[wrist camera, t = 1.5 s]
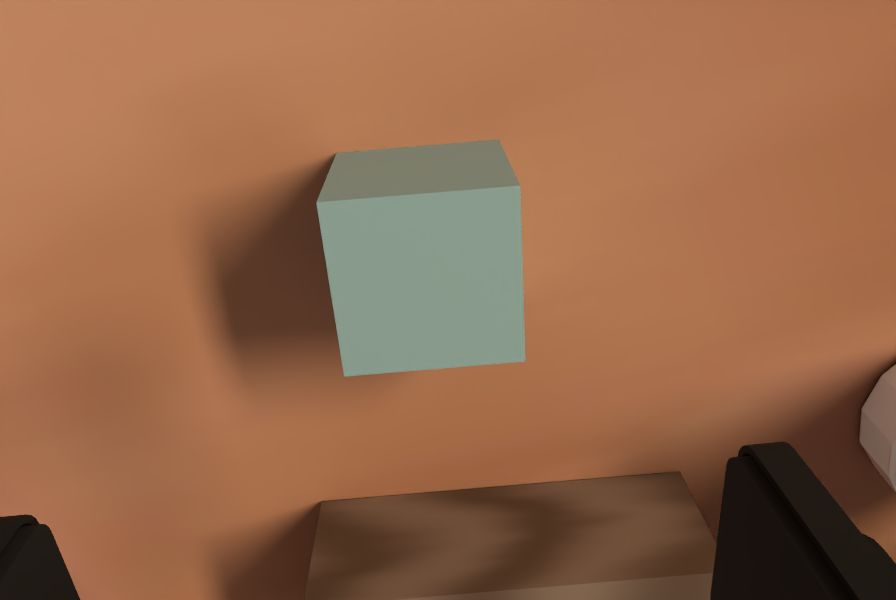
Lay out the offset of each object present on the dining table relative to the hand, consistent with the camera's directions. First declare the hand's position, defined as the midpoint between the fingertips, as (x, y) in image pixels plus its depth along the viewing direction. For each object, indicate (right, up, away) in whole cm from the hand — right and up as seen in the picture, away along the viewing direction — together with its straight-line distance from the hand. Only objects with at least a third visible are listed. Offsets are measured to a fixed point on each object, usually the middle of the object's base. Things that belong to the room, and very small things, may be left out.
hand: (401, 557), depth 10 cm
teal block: (0, +6, +13) cm, 14 cm away
